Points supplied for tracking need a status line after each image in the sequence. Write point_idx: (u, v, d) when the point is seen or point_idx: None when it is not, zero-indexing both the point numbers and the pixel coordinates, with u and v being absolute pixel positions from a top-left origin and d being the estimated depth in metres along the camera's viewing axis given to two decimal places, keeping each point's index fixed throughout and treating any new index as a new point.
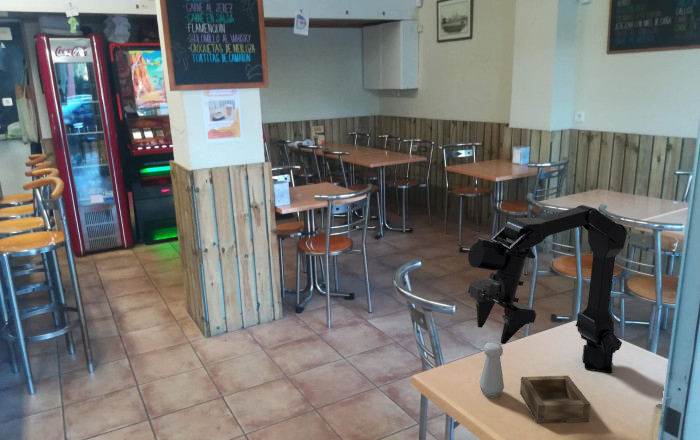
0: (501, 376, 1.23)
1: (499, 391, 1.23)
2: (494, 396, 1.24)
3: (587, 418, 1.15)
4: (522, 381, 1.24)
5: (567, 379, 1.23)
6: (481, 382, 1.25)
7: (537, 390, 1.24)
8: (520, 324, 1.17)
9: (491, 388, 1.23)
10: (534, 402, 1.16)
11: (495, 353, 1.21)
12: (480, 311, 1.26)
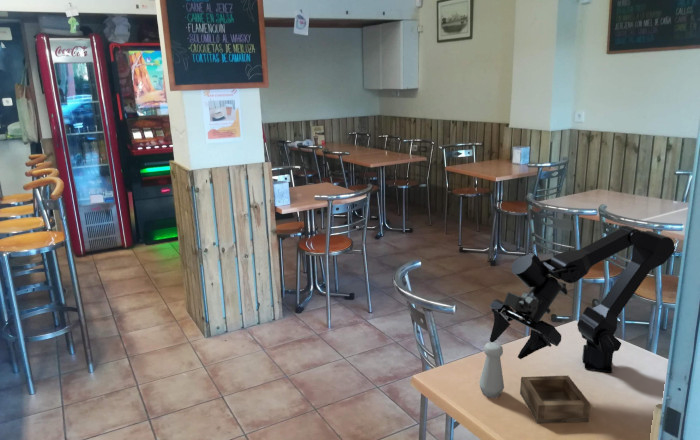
0: (501, 376, 1.23)
1: (499, 391, 1.23)
2: (494, 396, 1.24)
3: (587, 418, 1.15)
4: (522, 381, 1.24)
5: (567, 379, 1.23)
6: (481, 382, 1.25)
7: (537, 390, 1.24)
8: (541, 345, 1.22)
9: (491, 388, 1.23)
10: (534, 402, 1.16)
11: (495, 353, 1.21)
12: (497, 326, 1.29)
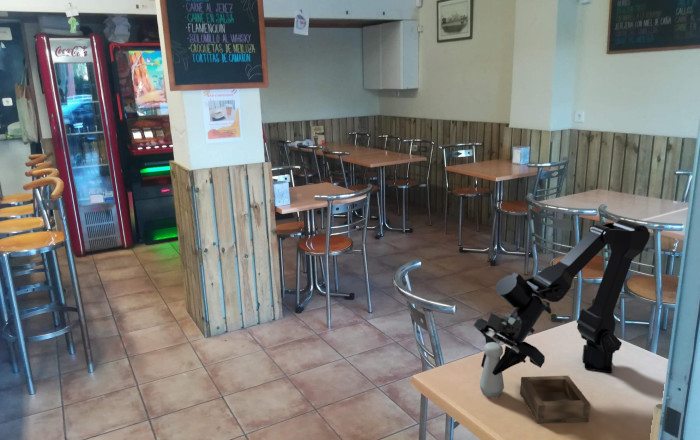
0: (501, 376, 1.23)
1: (499, 391, 1.23)
2: (494, 396, 1.24)
3: (587, 418, 1.15)
4: (522, 381, 1.24)
5: (567, 379, 1.23)
6: (481, 382, 1.25)
7: (537, 390, 1.24)
8: (516, 361, 1.22)
9: (491, 388, 1.23)
10: (534, 402, 1.16)
11: (495, 353, 1.21)
12: None
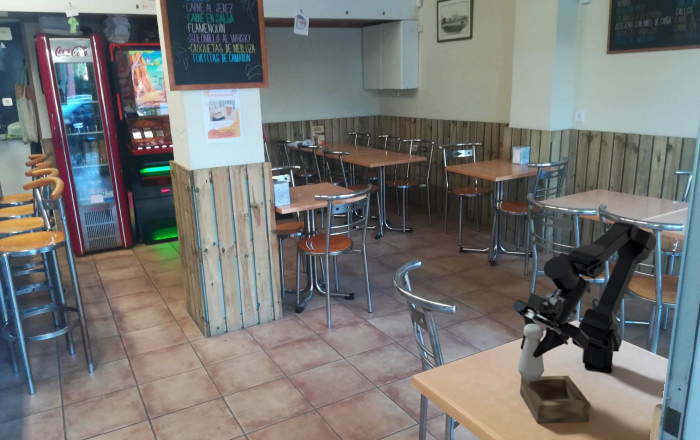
0: (541, 359, 1.19)
1: (539, 374, 1.19)
2: (534, 379, 1.19)
3: (587, 418, 1.15)
4: (522, 381, 1.24)
5: (567, 379, 1.23)
6: (520, 365, 1.20)
7: (537, 390, 1.24)
8: (557, 343, 1.17)
9: (530, 371, 1.18)
10: (534, 402, 1.16)
11: (536, 335, 1.16)
12: None
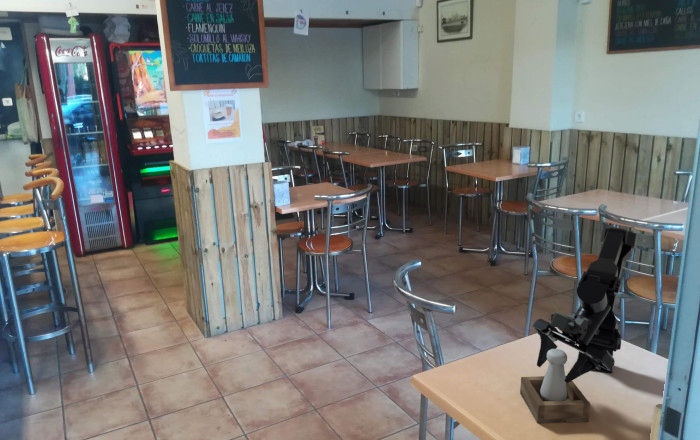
0: (565, 384, 1.18)
1: (563, 400, 1.18)
2: None
3: (587, 418, 1.15)
4: (522, 381, 1.24)
5: None
6: (543, 391, 1.19)
7: (537, 390, 1.24)
8: (589, 367, 1.14)
9: (554, 397, 1.17)
10: (534, 402, 1.16)
11: (560, 360, 1.15)
12: (545, 349, 1.21)
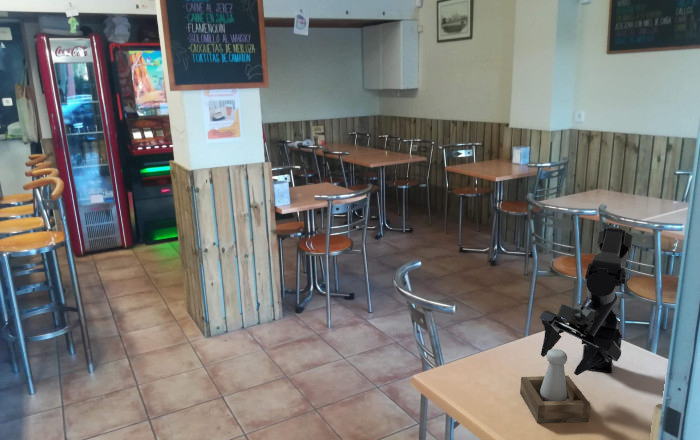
0: (565, 384, 1.18)
1: (563, 400, 1.18)
2: None
3: (587, 418, 1.15)
4: (522, 381, 1.24)
5: (567, 379, 1.23)
6: (543, 391, 1.19)
7: (537, 390, 1.24)
8: (599, 360, 1.14)
9: (554, 397, 1.17)
10: (534, 402, 1.16)
11: (560, 360, 1.15)
12: (549, 339, 1.22)
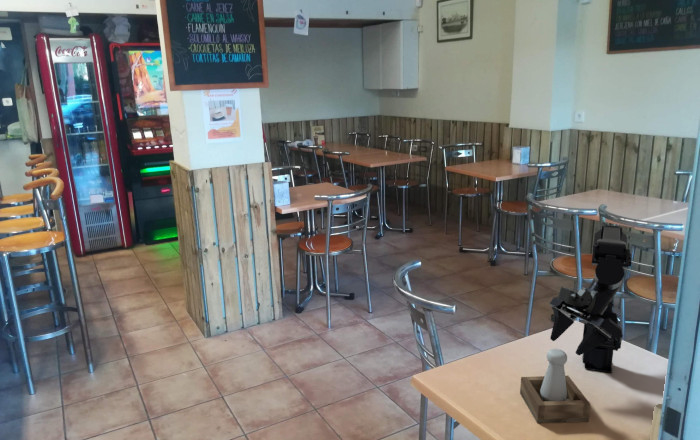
0: (565, 384, 1.18)
1: (563, 400, 1.18)
2: None
3: (587, 418, 1.15)
4: (522, 381, 1.24)
5: (567, 379, 1.23)
6: (543, 391, 1.19)
7: (537, 390, 1.24)
8: (601, 340, 1.16)
9: (554, 397, 1.17)
10: (534, 402, 1.16)
11: (560, 360, 1.15)
12: (557, 324, 1.25)
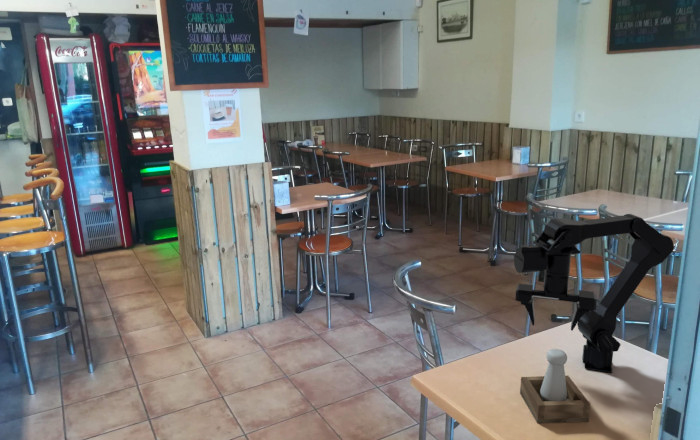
0: (565, 384, 1.18)
1: (563, 400, 1.18)
2: None
3: (587, 418, 1.15)
4: (522, 381, 1.24)
5: (567, 379, 1.23)
6: (543, 391, 1.19)
7: (537, 390, 1.24)
8: None
9: (554, 397, 1.17)
10: (534, 402, 1.16)
11: (560, 360, 1.15)
12: None
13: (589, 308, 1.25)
